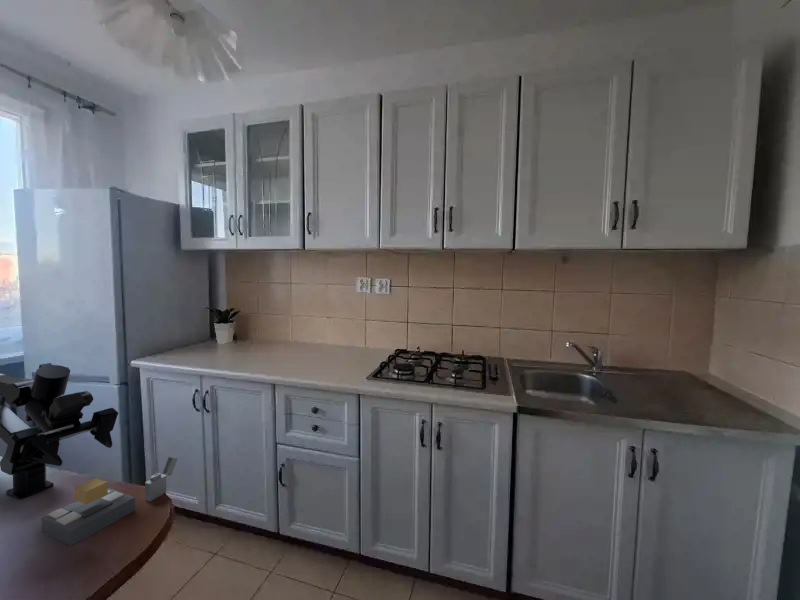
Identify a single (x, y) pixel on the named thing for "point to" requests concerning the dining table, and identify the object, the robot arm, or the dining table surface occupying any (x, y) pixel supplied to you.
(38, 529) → the dining table surface
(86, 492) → the key
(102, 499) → the keypad
